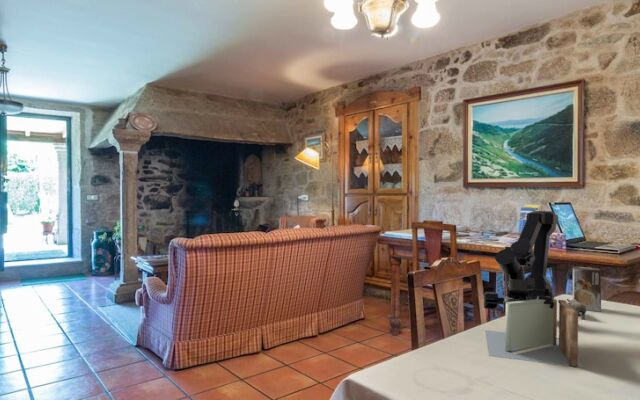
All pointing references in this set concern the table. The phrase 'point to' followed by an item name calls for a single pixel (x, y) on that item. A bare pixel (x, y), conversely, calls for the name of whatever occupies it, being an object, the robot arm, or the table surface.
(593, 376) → the table surface
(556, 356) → the card
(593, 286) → the coffee box
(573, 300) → the rhino figurine
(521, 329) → the panel
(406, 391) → the table surface
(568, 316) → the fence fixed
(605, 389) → the table surface
